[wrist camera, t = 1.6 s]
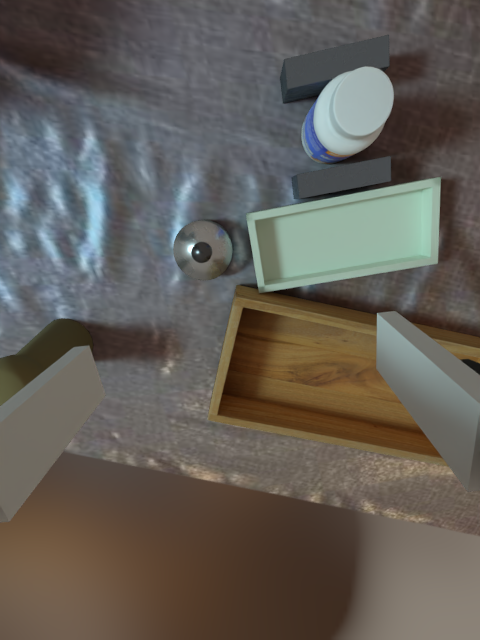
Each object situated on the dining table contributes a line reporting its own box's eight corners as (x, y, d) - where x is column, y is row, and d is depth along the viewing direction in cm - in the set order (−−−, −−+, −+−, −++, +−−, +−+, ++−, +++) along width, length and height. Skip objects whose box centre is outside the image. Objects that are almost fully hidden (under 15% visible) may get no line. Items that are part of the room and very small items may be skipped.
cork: (85, 316, 37) (22, 359, 27) (99, 361, 40) (45, 417, 29) (36, 321, 38) (-44, 365, 28) (53, 365, 40) (-16, 422, 30)
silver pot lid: (171, 225, 33) (164, 227, 31) (227, 214, 33) (224, 216, 30) (185, 280, 35) (179, 287, 33) (237, 271, 35) (236, 277, 32)
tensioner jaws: (280, 77, 29) (284, 59, 25) (370, 57, 28) (388, 34, 24) (293, 198, 32) (299, 198, 28) (374, 183, 31) (391, 181, 28)
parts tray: (246, 213, 33) (245, 214, 30) (426, 178, 31) (440, 177, 29) (258, 287, 35) (259, 293, 33) (424, 259, 34) (437, 263, 31)
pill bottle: (311, 174, 31) (335, 163, 22) (292, 116, 30) (310, 78, 20) (365, 149, 30) (413, 127, 21) (349, 88, 29) (394, 35, 20)
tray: (490, 338, 37) (530, 360, 32) (435, 438, 43) (461, 472, 37) (237, 281, 36) (234, 295, 31) (212, 392, 41) (206, 420, 36)
